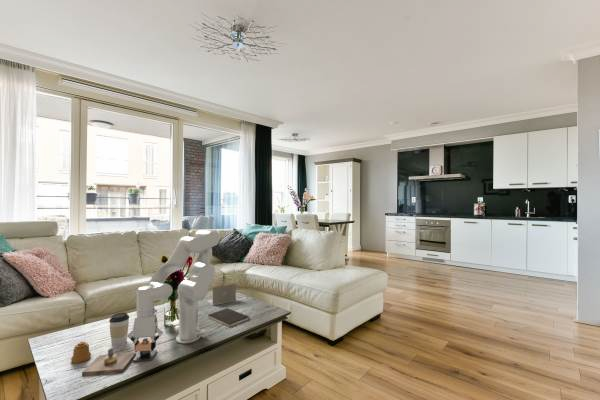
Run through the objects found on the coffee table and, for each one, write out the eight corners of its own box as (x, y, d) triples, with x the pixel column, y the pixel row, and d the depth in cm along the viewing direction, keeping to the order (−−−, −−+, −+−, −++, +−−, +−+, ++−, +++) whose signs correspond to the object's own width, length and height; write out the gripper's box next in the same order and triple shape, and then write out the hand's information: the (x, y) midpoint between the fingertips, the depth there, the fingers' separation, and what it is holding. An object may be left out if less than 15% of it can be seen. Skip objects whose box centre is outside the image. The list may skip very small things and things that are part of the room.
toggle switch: (135, 355, 139) (135, 340, 139) (122, 372, 125) (122, 355, 125) (99, 358, 137) (99, 342, 137) (81, 375, 123) (82, 358, 123)
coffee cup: (106, 348, 146) (106, 318, 146) (112, 339, 155) (112, 312, 155) (126, 345, 149) (126, 316, 149) (131, 337, 157) (131, 310, 157)
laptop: (229, 296, 228) (229, 280, 228) (235, 300, 218) (235, 283, 218) (206, 301, 217) (206, 283, 217) (212, 306, 207) (212, 287, 207)
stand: (156, 352, 142) (157, 334, 142) (151, 360, 134) (151, 342, 134) (139, 353, 141) (139, 335, 141) (132, 362, 133) (132, 343, 133)
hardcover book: (228, 328, 171) (228, 324, 171) (207, 318, 186) (207, 314, 186) (249, 319, 183) (249, 316, 183) (228, 311, 198) (228, 307, 198)
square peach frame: (154, 343, 141) (154, 338, 141) (149, 350, 135) (149, 345, 135) (140, 344, 140) (140, 339, 141) (135, 351, 134) (135, 346, 134)
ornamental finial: (67, 362, 133) (84, 354, 140) (77, 365, 131) (94, 357, 138) (67, 344, 133) (84, 337, 140) (77, 347, 131) (94, 340, 138)
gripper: (166, 308, 143) (166, 345, 143) (129, 310, 140) (129, 347, 140) (162, 314, 136) (161, 352, 135) (122, 316, 133) (122, 355, 133)
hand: (145, 349), depth 138 cm, fingers closed on square peach frame, 6 cm apart
